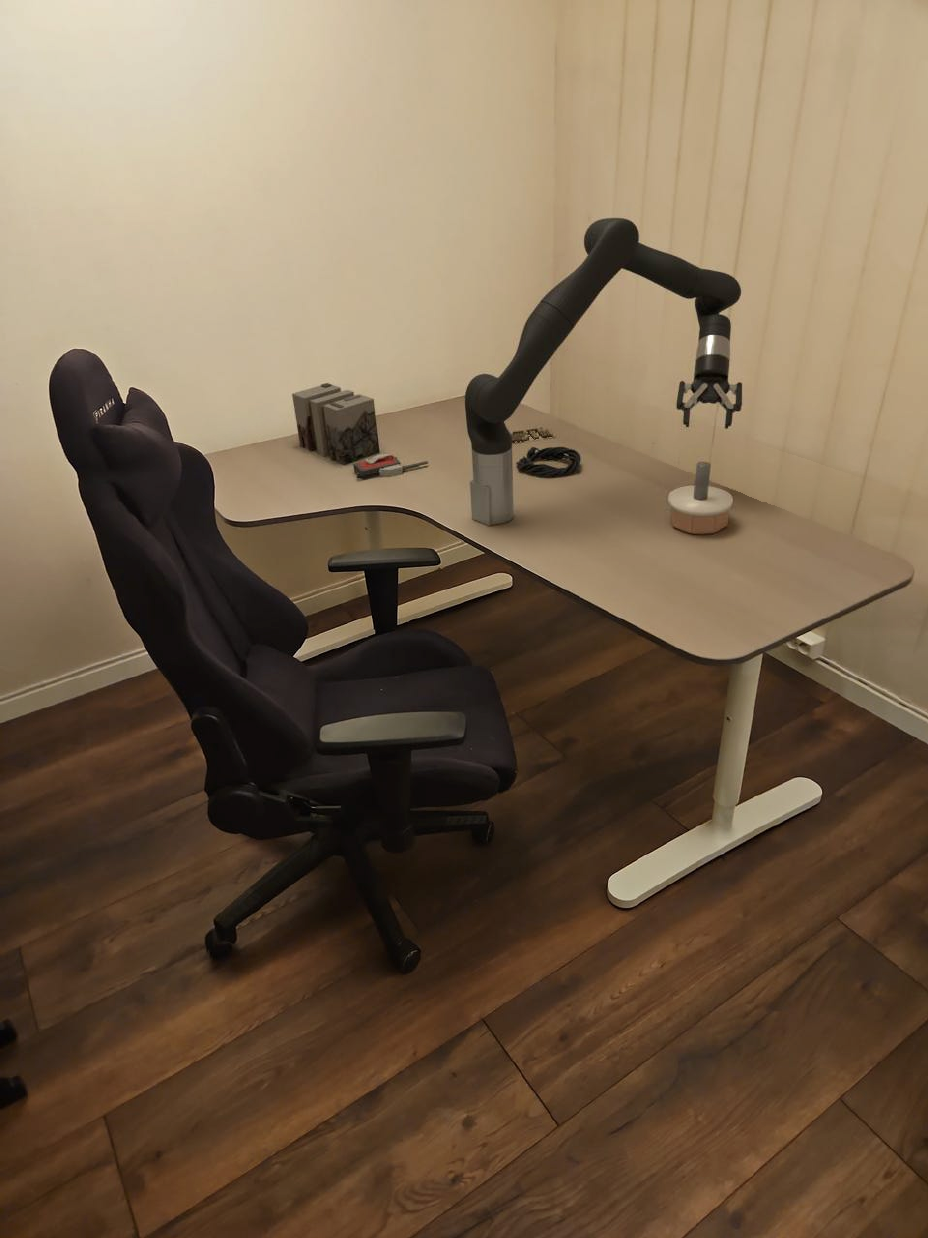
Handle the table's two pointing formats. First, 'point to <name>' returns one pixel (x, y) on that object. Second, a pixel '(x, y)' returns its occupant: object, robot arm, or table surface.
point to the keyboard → (524, 436)
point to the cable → (550, 454)
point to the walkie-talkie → (381, 466)
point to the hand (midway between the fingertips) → (707, 426)
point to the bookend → (336, 423)
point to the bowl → (699, 522)
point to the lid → (700, 496)
